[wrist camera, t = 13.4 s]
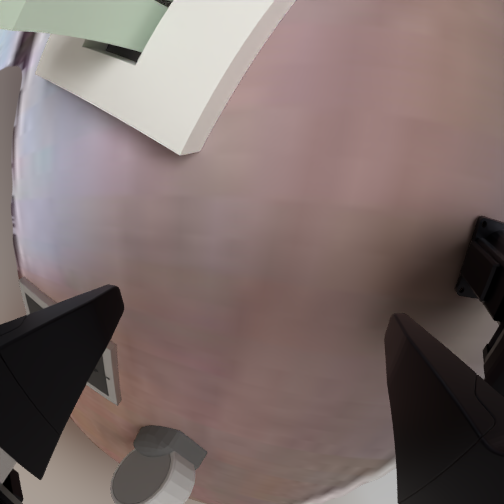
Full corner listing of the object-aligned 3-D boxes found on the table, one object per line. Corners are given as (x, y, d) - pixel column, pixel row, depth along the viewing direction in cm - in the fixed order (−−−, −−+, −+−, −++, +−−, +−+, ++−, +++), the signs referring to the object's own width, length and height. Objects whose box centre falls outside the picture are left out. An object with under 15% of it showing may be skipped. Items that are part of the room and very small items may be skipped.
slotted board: (299, -5, 13) (293, -24, 10) (199, 151, 19) (179, 155, 17) (116, -40, 13) (98, -48, 10) (56, 74, 19) (35, 74, 17)
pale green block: (179, 14, 15) (50, -43, 4) (155, 56, 17) (12, 30, 6) (137, 5, 15) (17, -31, 4) (116, 43, 17) (-12, 27, 6)
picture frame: (42, 338, 42) (123, 397, 40) (33, 345, 39) (115, 408, 37) (27, 274, 34) (119, 341, 32) (15, 282, 32) (107, 354, 30)
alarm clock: (164, 453, 45) (128, 517, 29) (129, 424, 43) (84, 490, 27) (221, 456, 39) (183, 541, 22) (181, 425, 36) (130, 516, 20)
